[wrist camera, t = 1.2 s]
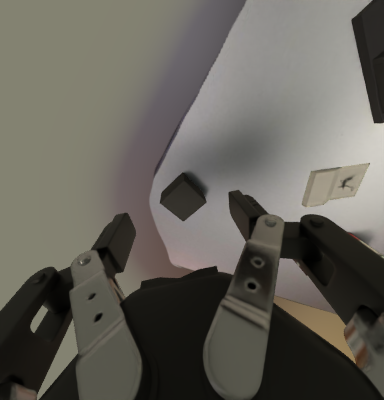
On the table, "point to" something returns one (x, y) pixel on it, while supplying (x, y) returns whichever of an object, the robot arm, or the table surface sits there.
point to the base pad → (372, 53)
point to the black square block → (182, 197)
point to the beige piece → (333, 184)
